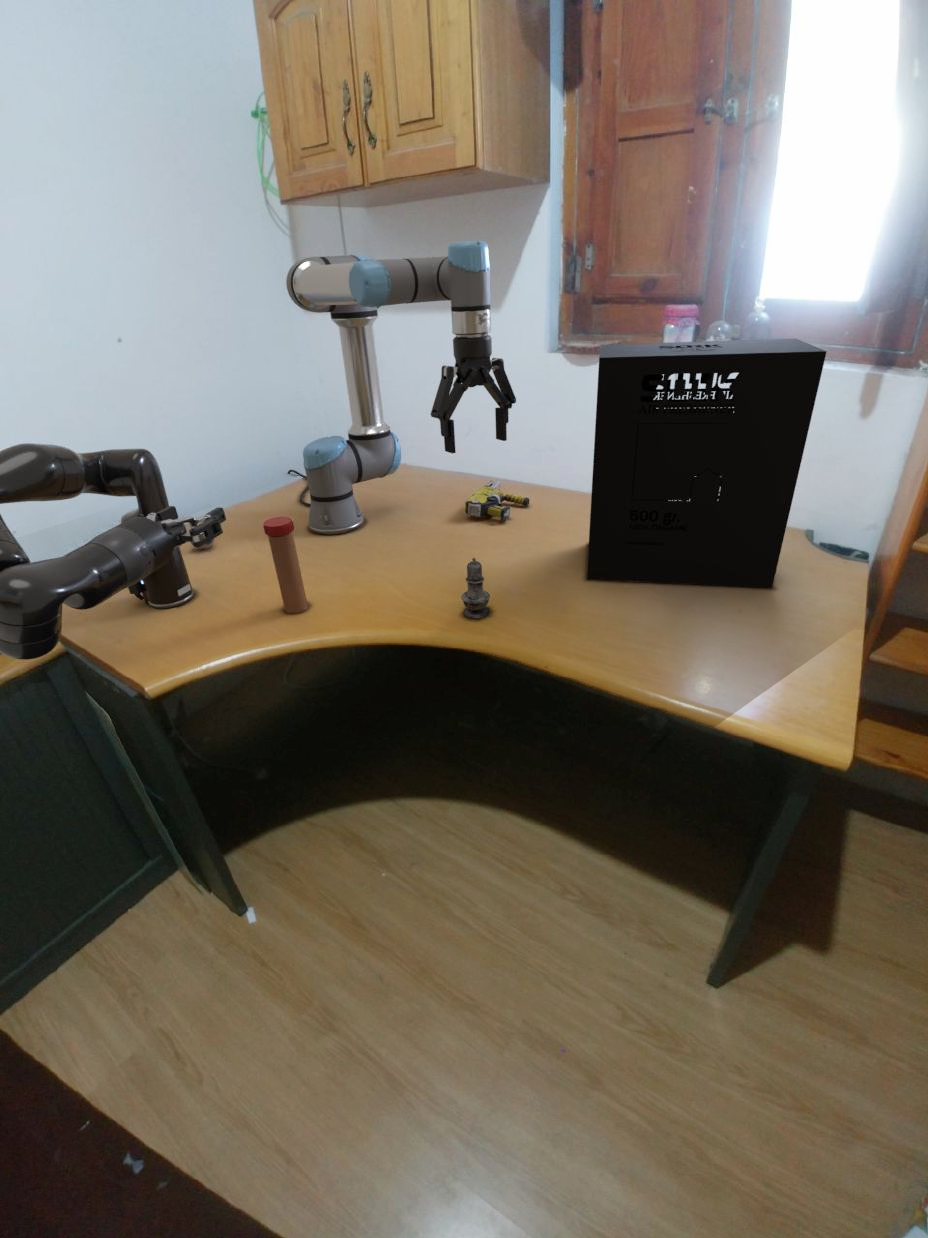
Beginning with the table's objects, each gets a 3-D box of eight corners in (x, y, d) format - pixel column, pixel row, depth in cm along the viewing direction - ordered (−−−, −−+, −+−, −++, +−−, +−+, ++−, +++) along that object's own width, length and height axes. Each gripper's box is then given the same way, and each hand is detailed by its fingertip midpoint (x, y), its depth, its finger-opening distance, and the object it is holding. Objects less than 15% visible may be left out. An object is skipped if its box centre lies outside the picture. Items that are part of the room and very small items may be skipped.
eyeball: (203, 554, 156) (196, 532, 153) (187, 550, 159) (181, 528, 156) (222, 546, 160) (216, 524, 157) (206, 542, 163) (200, 521, 160)
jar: (289, 615, 125) (270, 529, 116) (281, 607, 129) (262, 523, 119) (311, 608, 127) (294, 523, 118) (302, 600, 131) (285, 517, 121)
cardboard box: (752, 548, 142) (795, 338, 119) (772, 587, 124) (826, 351, 102) (589, 543, 149) (600, 344, 127) (586, 579, 132) (599, 357, 110)
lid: (270, 539, 116) (268, 528, 115) (260, 530, 120) (258, 521, 119) (298, 531, 119) (296, 521, 118) (288, 523, 123) (285, 514, 122)
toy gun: (537, 485, 181) (489, 478, 185) (516, 509, 160) (463, 500, 164) (535, 500, 183) (488, 493, 187) (515, 526, 163) (463, 517, 167)
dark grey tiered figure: (488, 619, 119) (486, 564, 113) (459, 618, 120) (455, 563, 114) (493, 605, 124) (491, 551, 118) (465, 604, 125) (462, 550, 119)
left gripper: (92, 576, 85) (166, 533, 98) (180, 581, 82) (244, 536, 95) (72, 526, 81) (152, 488, 95) (163, 529, 78) (232, 490, 91)
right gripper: (429, 342, 108) (437, 460, 118) (533, 329, 120) (532, 437, 131) (407, 340, 113) (417, 454, 124) (508, 328, 125) (510, 432, 136)
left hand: (198, 512), depth 95 cm, fingers open, 8 cm apart
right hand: (476, 445), depth 127 cm, fingers open, 13 cm apart
